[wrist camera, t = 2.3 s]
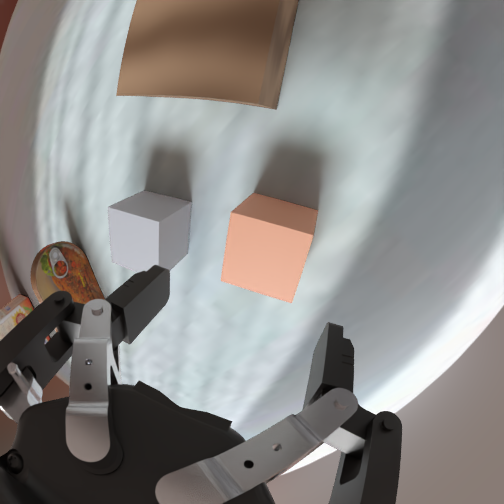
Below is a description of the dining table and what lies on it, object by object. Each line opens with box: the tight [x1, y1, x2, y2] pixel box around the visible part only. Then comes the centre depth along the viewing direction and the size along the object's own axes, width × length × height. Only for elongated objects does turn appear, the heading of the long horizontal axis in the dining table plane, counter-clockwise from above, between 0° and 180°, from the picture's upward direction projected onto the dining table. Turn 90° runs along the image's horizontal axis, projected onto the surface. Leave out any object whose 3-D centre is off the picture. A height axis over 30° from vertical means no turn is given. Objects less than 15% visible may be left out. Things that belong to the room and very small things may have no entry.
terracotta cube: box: [221, 193, 318, 303], centre depth 19 cm, size 5×5×5 cm
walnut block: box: [116, 0, 299, 110], centre depth 13 cm, size 10×10×5 cm
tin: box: [31, 241, 105, 333], centre depth 28 cm, size 15×3×8 cm, turn 11°
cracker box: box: [0, 294, 50, 344], centre depth 37 cm, size 14×6×21 cm, turn 7°
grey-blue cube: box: [108, 190, 192, 273], centre depth 22 cm, size 5×5×5 cm
